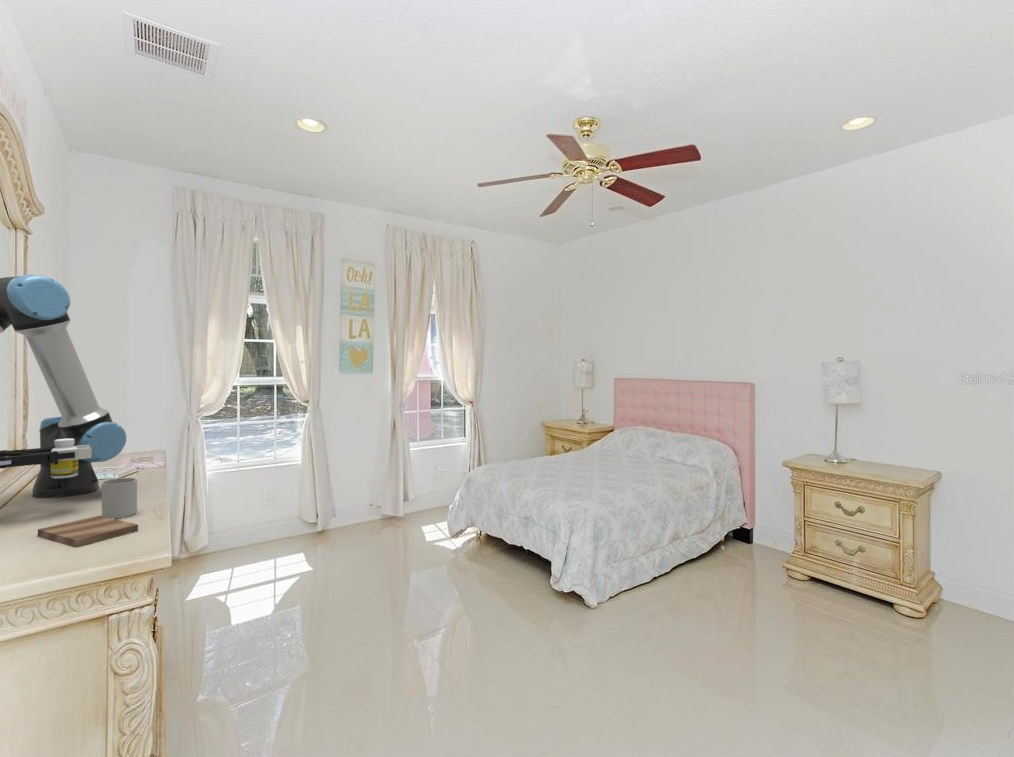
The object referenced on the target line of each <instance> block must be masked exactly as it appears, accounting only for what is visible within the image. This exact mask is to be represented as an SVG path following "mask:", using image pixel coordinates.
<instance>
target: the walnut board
mask: <svg viewBox="0 0 1014 757" xmlns="http://www.w3.org/2000/svg"><path fill="white" fill-rule="evenodd" d="M134 531H136V532H138V531H139V524H137V523H133V522H129V521H125V520H124V521H123V520H119V519H112V518H108V517H103V516H102V515H95V516H90V517H86V518H82V519H78V520H73V521H69V522H64V523H60V524H56V525H51V526H47V527H43V528H38V529H37V537H40V538H43V539H47V540H50V541H54V542H57V543H61V544H64V545H67V546H70V547H71V546H72V547H74V548H78V547H82V546H86V545H87V546H88V545H90V543H91V544H95V543H98V542H101V540H102V541H105V539H106V540H109V539H108V538H110V539H113V538H116V537H115V536H117V537H120V536H119V535H121V536H123V535H122V534H125V535H127V534H126V533H128V534H130V533H129V532H132V533H135V532H134ZM112 537H113V538H112Z"/></svg>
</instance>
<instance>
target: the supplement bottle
mask: <svg viewBox="0 0 1014 757" xmlns="http://www.w3.org/2000/svg"><path fill="white" fill-rule="evenodd" d="M74 443H75V439H72V438H69V439H57V440H54V446H55V448H54V449H52V450H51V452H54V451H57V452H58V450H69V449H78V448H76V447H74V446H73V445H74ZM77 475H78V459H77V460H67V461H59V459H58V464H57V465H54V463H51V478H56V479H58V478H69V477H74V476H77Z"/></svg>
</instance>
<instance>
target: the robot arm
mask: <svg viewBox="0 0 1014 757" xmlns="http://www.w3.org/2000/svg"><path fill="white" fill-rule="evenodd" d="M70 306H71V297H70V293H69V292H68V290H67V289H66V288H65V287H64V286H63V284H61V283H59V281H57V280H55V279H53V278H51V277H50V276H49V277H48V276H45V275H39V274H22V275H17V276H7V277H1V278H0V334H2V333H4V332H5V331H6V329H8V328H9V327H10V326H12V328H13V330H14V332H16V333H18V334H21V335H23V336H24V337H25V338H26V340H27V342H28V346H29V347H30V349H31V351H32V354H33V355H34V358H35V361H36V362H37V365H38V367H39V369H40V371H41V374H42V375H43V378H44V379H45V380H44V381H45V383H46V385H47V387H48V389H49V391H50V393H51V396H52V397H53V400H54V403H55V404H56V407H57V408H58V412H59V413H60V416H52V417H46V418H43V419H42V420H41V422H40V426H39V443H40V444H39V448H35V447H34V448H25V449H13V450H12V449H11V450H8V449H6V450H5V449H3V450H0V469H1V470H2V469H7V468H14V467H24V466H26V467H27V466H35V465H36V466H37V465H39V466H40V468H39V471H38V474H37V477H36V479H35V481H34V484H33V485H32V489H31V490H32V494H31V495H32V497H34V498H39V499H40V498H41V499H42V498H62V497H71V496H76V495H83V494H86V493H90V492H94V491H97V490H98V489H99V479H98V477H97V475H96V472H95V470H94V468H93V464H92V463H101V462H103V463H104V462H107V461H110V460H112V459H114V458H115V457H117V456H118V455H119V454H120V453H121V452H122V451H123V449H124V448H125V445H126V443H127V434H126V431H125V429H124V427H123V426H122V425H119V424H118V423H116V422H114V421H113V419H112V417H111V415H110V412H109V410H108V409H106V408H103V407H100V405H99V403H98V400H97V398H96V396H95V394H94V391H93V389H92V386H91V384H90V382H89V379H88V377H87V374H86V372H85V370H84V368H83V365H82V363H81V360H80V358H79V355H78V353H77V351H76V348H75V345H74V344H73V341H72V338H71V337H70V334H69V331H68V329H67V327H68V325H69V324H70V322H71V319H70V316H69V314H68V310H69V307H70ZM69 438H72V439H75V443H74V445H73V446H74V447H76V448H78V449H69V450H58V452H57V451H54V452H51V450H52V449H54V448H55V446H54V440H57V439H69ZM58 459H59V461H67V460H77V459H78V475H77V476H74V477H69V478H58V479H56V478H51V463H54V465H57V464H58Z"/></svg>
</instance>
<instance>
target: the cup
mask: <svg viewBox="0 0 1014 757" xmlns="http://www.w3.org/2000/svg"><path fill="white" fill-rule="evenodd" d="M137 512H138V479H137V478H134V477H122V478H113V479H107V480H103V481H101V516H103V517H108V518H112V519H113V518H119V519H123V518H122V517H125V518H128V516H129V517H132V516H135V515H136V514H137ZM134 514H135V515H134ZM131 515H132V516H131Z"/></svg>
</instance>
